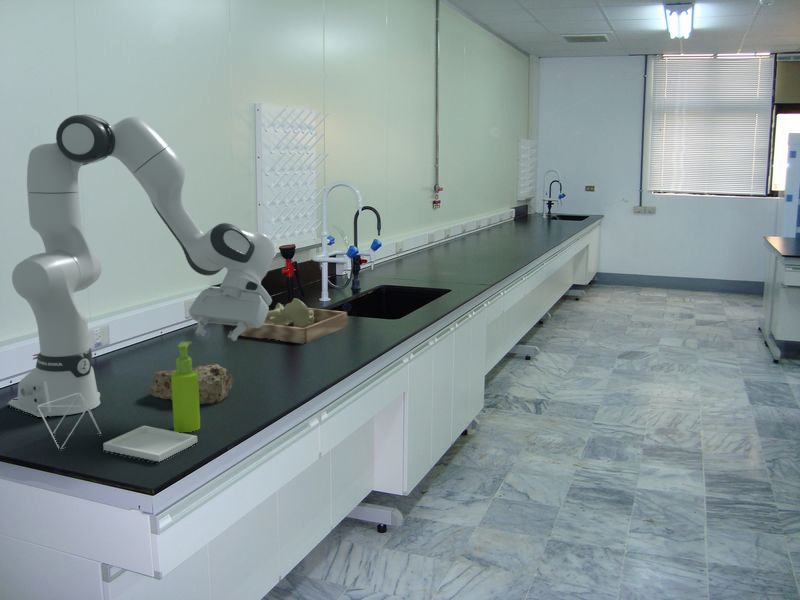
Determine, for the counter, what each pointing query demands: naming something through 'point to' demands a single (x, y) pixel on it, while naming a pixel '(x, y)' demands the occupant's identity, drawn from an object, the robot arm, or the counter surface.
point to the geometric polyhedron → (66, 413)
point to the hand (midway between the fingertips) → (215, 337)
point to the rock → (210, 381)
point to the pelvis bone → (292, 314)
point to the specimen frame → (323, 325)
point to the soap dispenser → (185, 393)
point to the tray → (150, 443)
